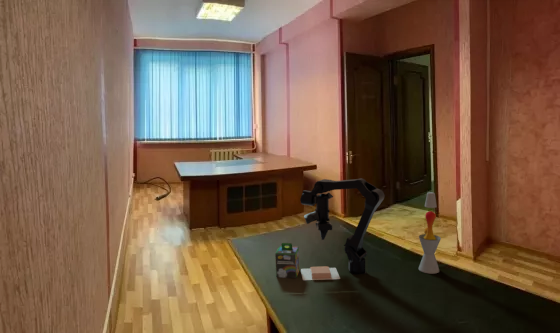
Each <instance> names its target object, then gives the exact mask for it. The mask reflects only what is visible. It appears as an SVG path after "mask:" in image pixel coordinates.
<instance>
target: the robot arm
mask: <svg viewBox="0 0 560 333" xmlns="http://www.w3.org/2000/svg"><path fill="white" fill-rule="evenodd" d="M352 189H353V190H354V189H357V190H358V191H359V193H360V194H361V195H362V197H363V198H364V199H365V200H364V210H363V212H362V214H361V215H360V219H359V221H358V224H357V226H356V229H355V230H354V233H353V234H351V235H350V236H348V237H347V238H346V241H345V243H344V245H343V248H344V249H343V250H344V252H345V254H346V256H347V259H348V270H349V272H350V273H351V275H367V272H366V259H365V258H366V257H367V256H368V252H367V250H366V249H365V248H364V247H363V246H364V237H365V235H366V232H367V230H368V228H369V225H370V224H371V220H372V218H373V216H374V215H375V214H374V213H375V212H376V210H377V209H378V207H379V206H380V205H381V203H382V202H383V201H384V199H385V196H386V194H385V193H384V191H383V189H380V188H377V186H375V185H373V184H372V183H370V182H368V181H366V179H365V178H361V177H360V178H356V179H342V180H332V179H327V178H326V179H325V178H324V179H321V180H317V181H315V183H314V185H313V188H312V190H311V191H310V190H302V193H301V196H300V204H301V205H304V206H312V207H313V206H315V205H316V207H315V209H314V211H313V212H309V213H306V214H304V216H303V217H304V219H305V220H304V221H305V223H306V225H309V224H310V223H312V222H316V223H315V226H316V228H317V231H319V234H320V238H321V240H322V241H324V240H325V239H326V236H327V234H328V233H329V231H333V225H332V223H331V222H330V220H331V219H330V208H329V205H330V204H329V200H330V199H332V198H334V195H332V193H331V192H332V191H335V190H336V191H338V190H352Z"/></svg>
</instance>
